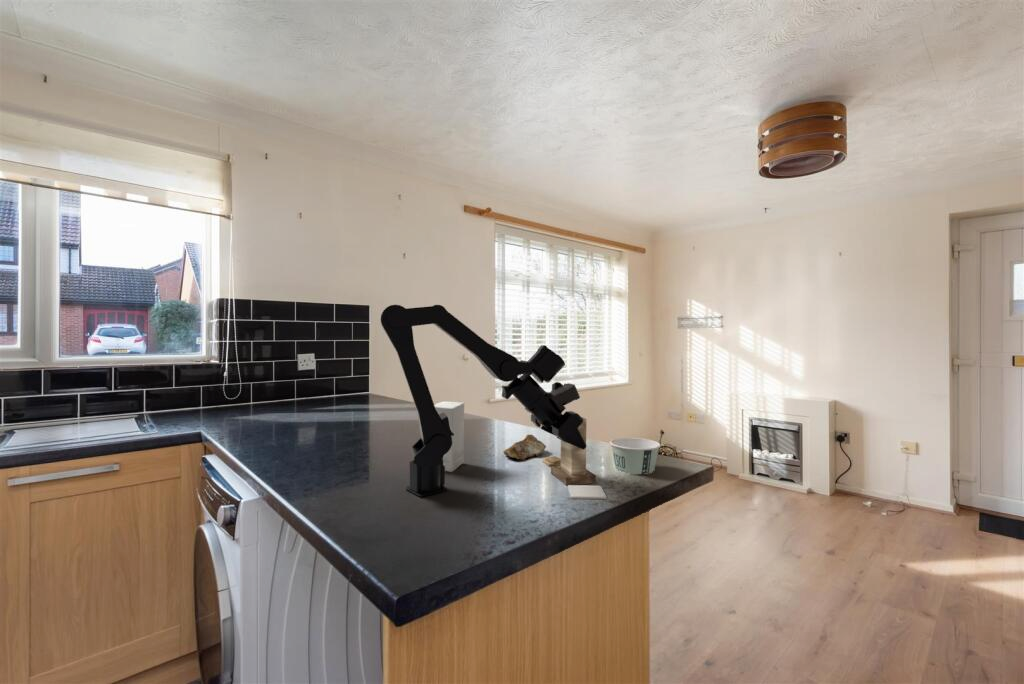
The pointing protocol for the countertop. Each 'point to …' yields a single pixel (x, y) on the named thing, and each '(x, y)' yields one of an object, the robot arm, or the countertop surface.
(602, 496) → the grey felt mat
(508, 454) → the decorative stone
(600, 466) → the countertop surface
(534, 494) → the countertop surface
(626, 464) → the food container
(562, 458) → the tan wooden block
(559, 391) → the robot arm
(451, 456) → the skincare box
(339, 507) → the countertop surface
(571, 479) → the walnut rack
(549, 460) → the oak offcuts
